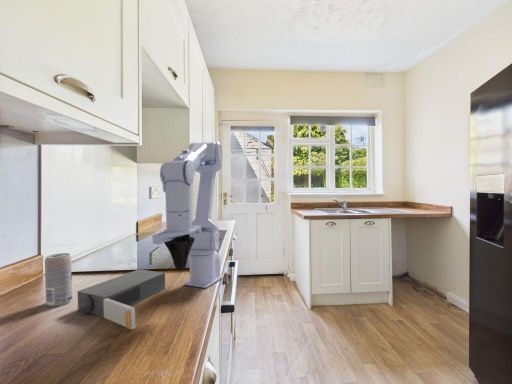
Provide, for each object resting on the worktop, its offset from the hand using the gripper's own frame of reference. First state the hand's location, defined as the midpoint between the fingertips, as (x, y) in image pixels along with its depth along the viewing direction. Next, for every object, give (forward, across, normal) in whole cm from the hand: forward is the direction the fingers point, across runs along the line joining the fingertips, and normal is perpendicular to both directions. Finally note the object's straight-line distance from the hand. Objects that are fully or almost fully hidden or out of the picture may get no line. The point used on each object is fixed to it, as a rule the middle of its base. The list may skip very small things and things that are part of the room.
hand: (180, 268), depth 63 cm
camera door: (+9, +12, -7) cm, 16 cm away
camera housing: (+9, +2, -17) cm, 20 cm away
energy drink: (+10, +10, -31) cm, 34 cm away
